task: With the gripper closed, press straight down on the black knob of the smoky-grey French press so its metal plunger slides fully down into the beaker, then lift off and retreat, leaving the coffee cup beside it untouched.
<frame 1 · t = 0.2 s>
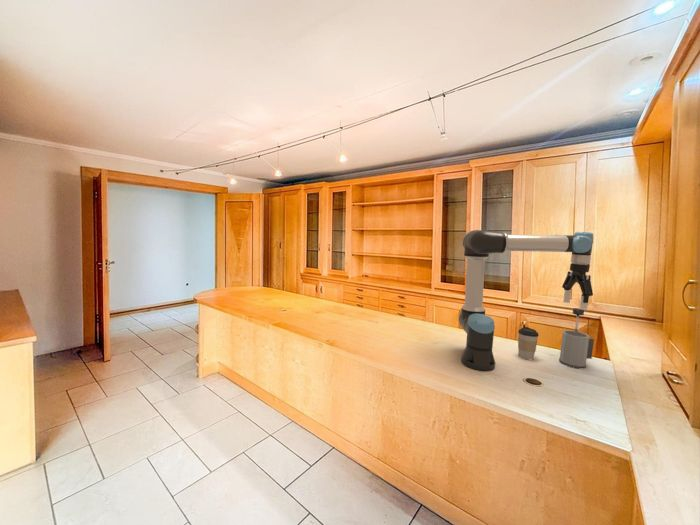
hand: (574, 305, 148), 29 cm above the countertop, fingers open, 13 cm apart
press beaker: (572, 363, 148), on the countertop
coffee cup: (525, 357, 155), on the countertop
plunger: (576, 324, 146), point 20 cm above the countertop, slide at 0.0 cm
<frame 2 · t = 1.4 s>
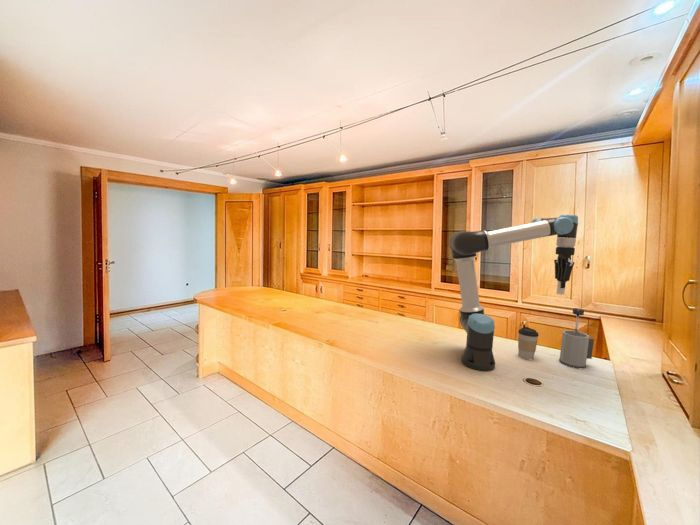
hand: (560, 294, 147), 34 cm above the countertop, fingers closed
nothing on the countertop moved.
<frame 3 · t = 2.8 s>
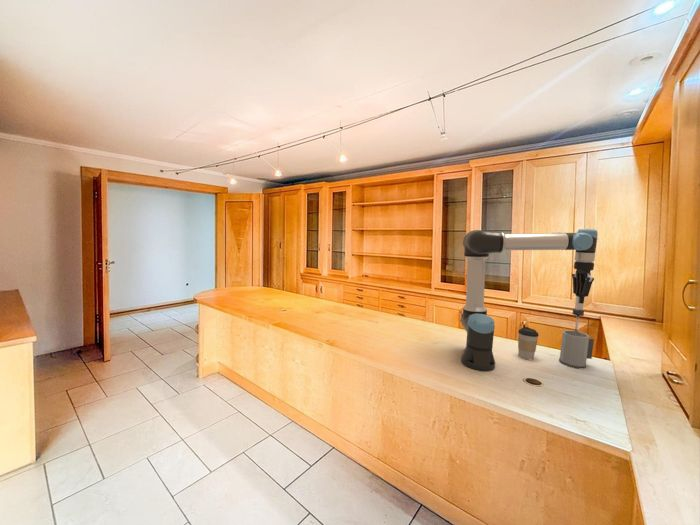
hand: (578, 309, 145), 28 cm above the countertop, fingers closed
plunger: (576, 324, 146), point 20 cm above the countertop, slide at 0.3 cm, touching gripper
everything else where it was.
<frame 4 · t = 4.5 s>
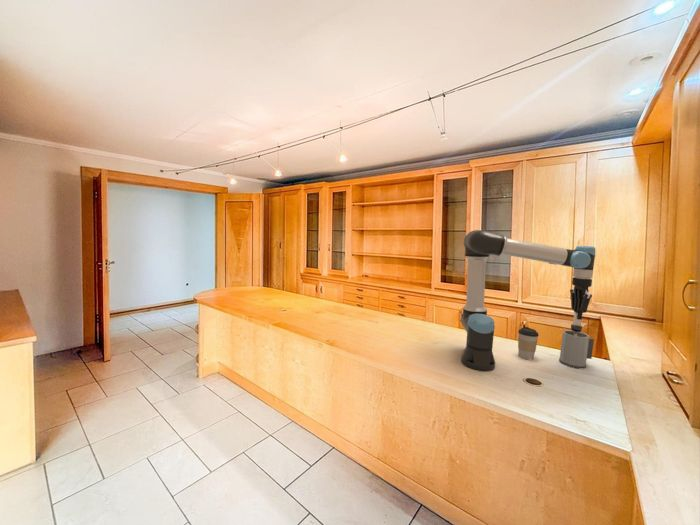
hand: (576, 325, 146), 20 cm above the countertop, fingers closed
plunger: (574, 340, 147), point 12 cm above the countertop, slide at 8.3 cm, touching gripper
everything else where it was.
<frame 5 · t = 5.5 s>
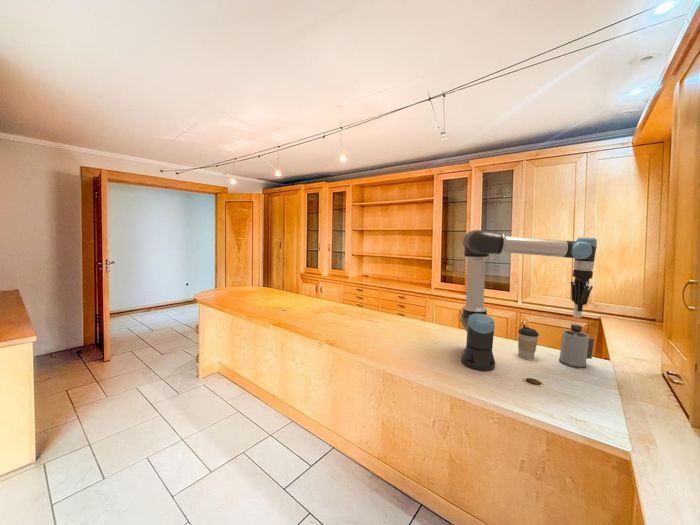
hand: (577, 317, 146), 24 cm above the countertop, fingers closed
plunger: (574, 340, 147), point 12 cm above the countertop, slide at 8.3 cm
everything else where it was.
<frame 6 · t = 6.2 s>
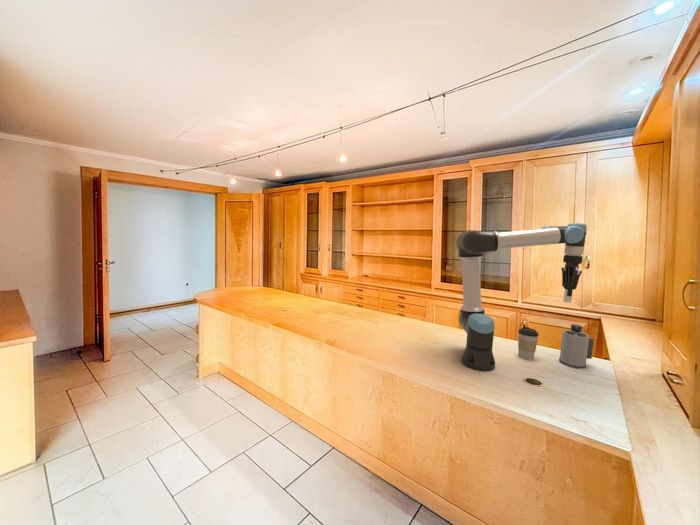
hand: (566, 302, 148), 30 cm above the countertop, fingers closed
nothing on the countertop moved.
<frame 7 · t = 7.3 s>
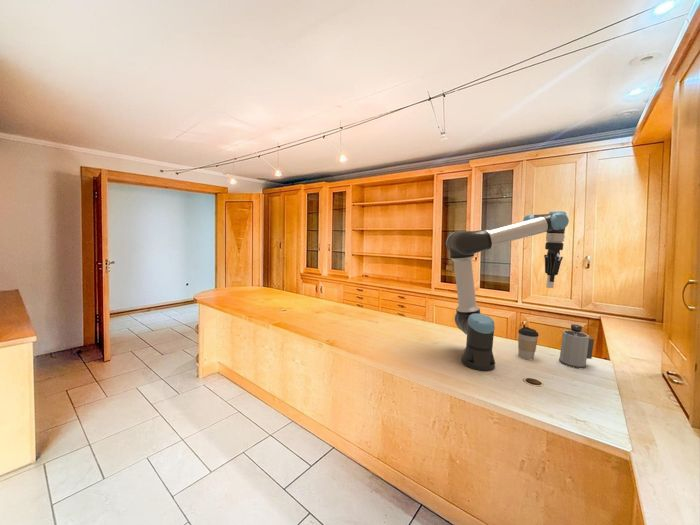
hand: (549, 287, 153), 36 cm above the countertop, fingers closed
nothing on the countertop moved.
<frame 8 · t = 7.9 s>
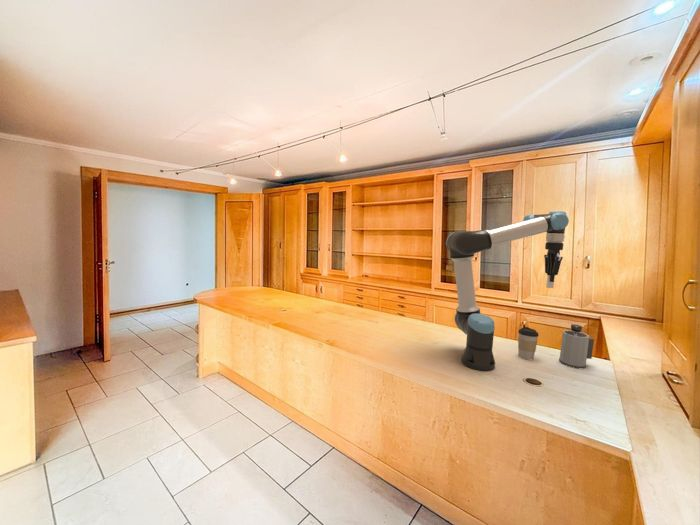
hand: (549, 287, 153), 36 cm above the countertop, fingers closed
nothing on the countertop moved.
at the end: plunger slide at 8.3 cm; plunger touching nothing; coffee cup moved 0.2 cm from its start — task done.
